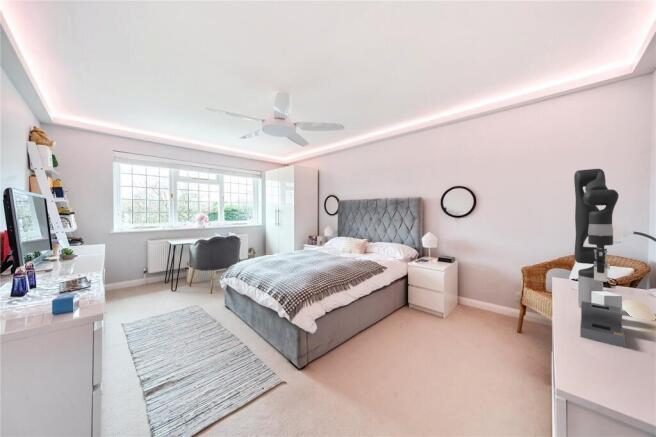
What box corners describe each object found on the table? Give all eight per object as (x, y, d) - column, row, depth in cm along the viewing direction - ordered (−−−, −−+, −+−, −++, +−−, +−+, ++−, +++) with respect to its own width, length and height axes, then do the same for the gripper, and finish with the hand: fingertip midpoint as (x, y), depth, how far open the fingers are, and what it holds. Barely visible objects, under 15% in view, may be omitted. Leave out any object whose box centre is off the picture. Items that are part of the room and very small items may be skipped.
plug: (594, 278, 113) (593, 261, 113) (609, 280, 110) (609, 262, 109) (594, 279, 111) (593, 262, 111) (610, 281, 108) (610, 263, 107)
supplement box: (623, 322, 115) (623, 296, 115) (604, 321, 116) (604, 295, 116) (608, 316, 122) (608, 291, 122) (590, 315, 124) (590, 290, 123)
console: (581, 319, 120) (581, 301, 119) (620, 327, 111) (619, 307, 111) (580, 336, 103) (580, 315, 103) (625, 347, 94) (624, 324, 94)
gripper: (588, 232, 118) (588, 268, 118) (588, 234, 108) (588, 273, 108) (612, 233, 112) (612, 270, 113) (614, 235, 103) (614, 276, 103)
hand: (600, 272), depth 111 cm, fingers closed on plug, 3 cm apart
